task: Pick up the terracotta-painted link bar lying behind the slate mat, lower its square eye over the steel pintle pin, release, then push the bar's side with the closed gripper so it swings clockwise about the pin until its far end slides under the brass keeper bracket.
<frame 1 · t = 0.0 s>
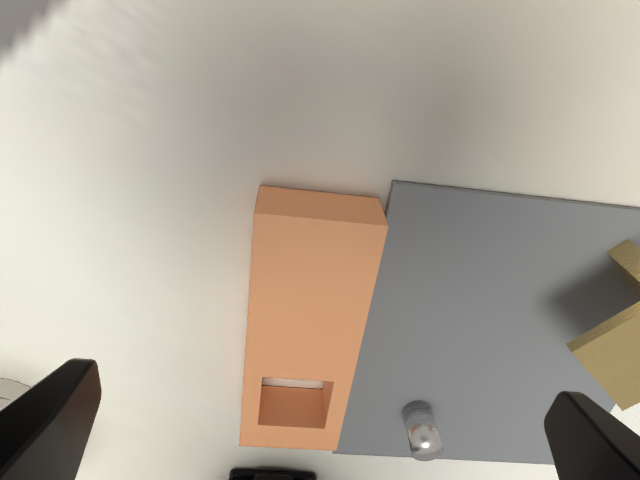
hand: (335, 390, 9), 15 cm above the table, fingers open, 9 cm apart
cup: (7, 409, 30), on the table
mat: (501, 350, 29), on the table
keeper: (592, 306, 26), resting on mat
pintle: (416, 410, 31), resting on mat
link: (302, 316, 27), on the table
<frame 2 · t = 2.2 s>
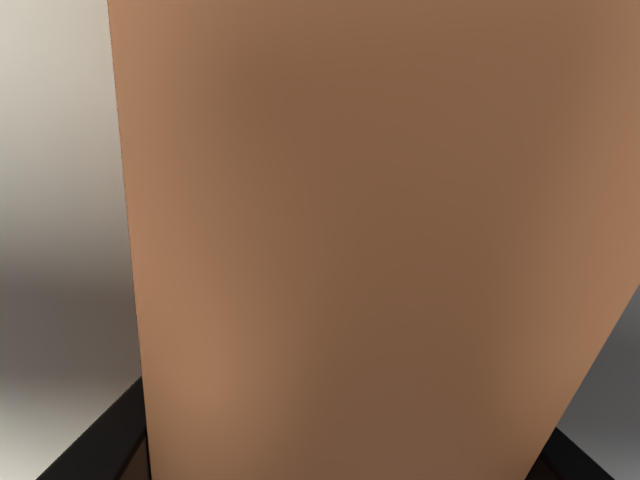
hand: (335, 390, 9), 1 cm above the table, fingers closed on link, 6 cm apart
link: (332, 345, 10), on the table, touching gripper
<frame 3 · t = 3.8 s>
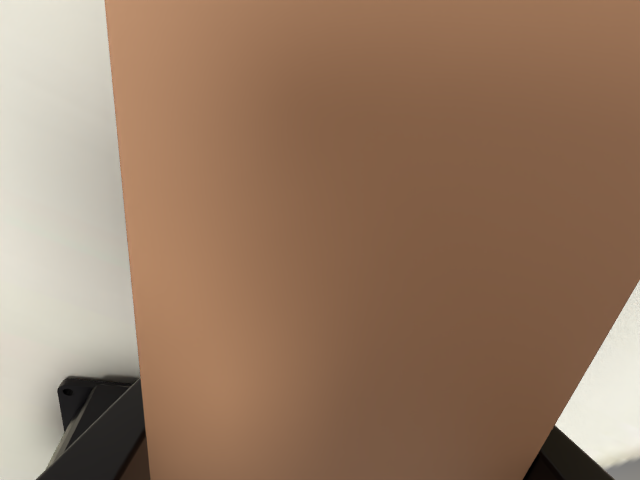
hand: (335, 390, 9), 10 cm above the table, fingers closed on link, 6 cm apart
link: (331, 342, 10), point 9 cm above the table, touching gripper
when the fingers open (3 cm above the table, at t = 5.5 s): link drops 1 cm, resting on mat.
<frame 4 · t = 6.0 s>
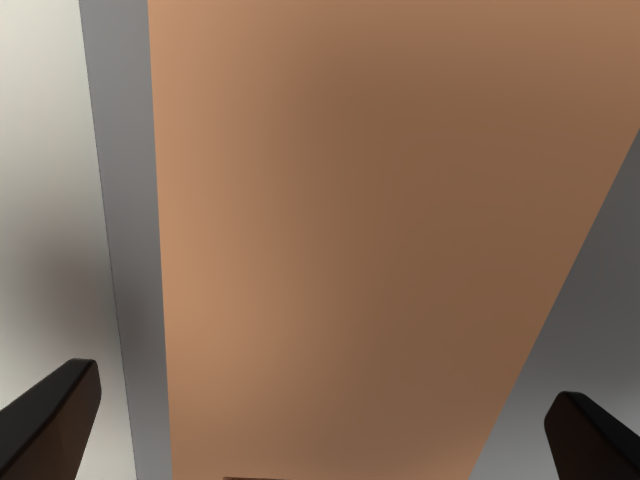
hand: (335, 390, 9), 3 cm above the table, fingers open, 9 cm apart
mat: (513, 264, 11), on the table
link: (328, 310, 11), resting on mat
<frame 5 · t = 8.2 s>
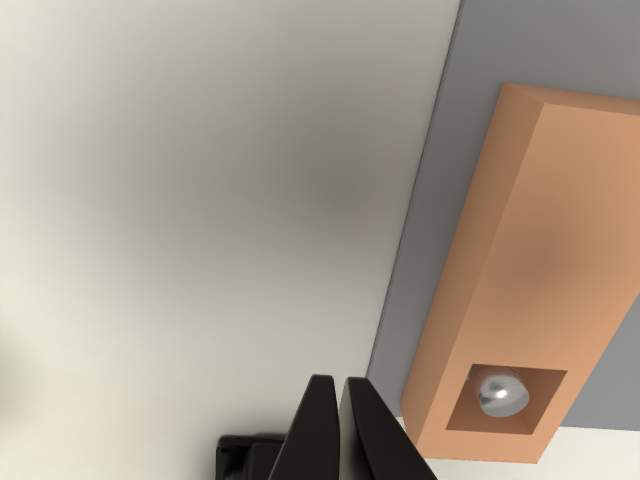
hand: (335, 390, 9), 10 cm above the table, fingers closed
mat: (610, 256, 20), on the table
pintle: (480, 350, 22), resting on mat
link: (508, 281, 20), resting on mat
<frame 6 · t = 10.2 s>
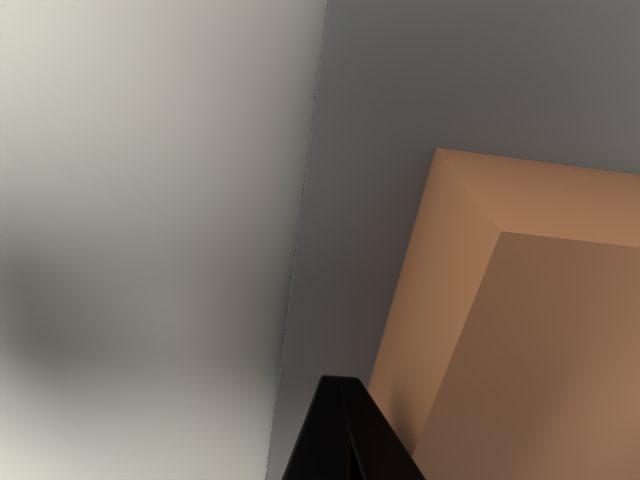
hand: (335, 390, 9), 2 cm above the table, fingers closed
mat: (623, 408, 12), on the table
link: (462, 448, 12), resting on mat, touching gripper
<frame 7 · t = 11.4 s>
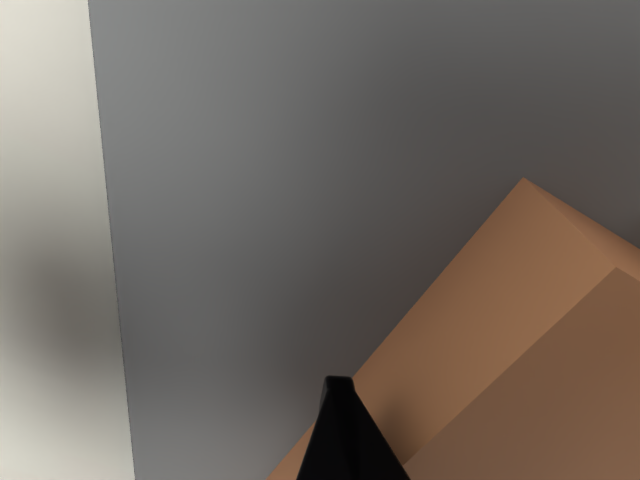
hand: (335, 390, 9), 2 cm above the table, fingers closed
mat: (494, 401, 12), on the table
link: (404, 465, 12), resting on mat, touching gripper, pintle
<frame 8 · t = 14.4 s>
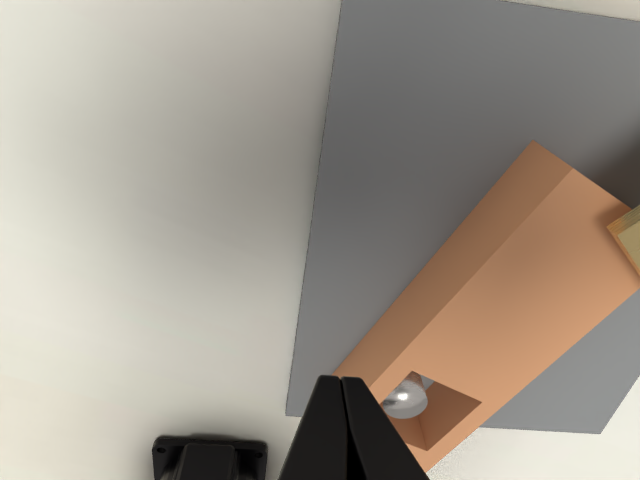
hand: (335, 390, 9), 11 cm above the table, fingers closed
mat: (507, 268, 21), on the table
keeper: (635, 196, 19), resting on mat
pintle: (393, 355, 23), resting on mat
link: (457, 311, 22), resting on mat
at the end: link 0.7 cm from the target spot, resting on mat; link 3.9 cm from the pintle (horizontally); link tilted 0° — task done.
